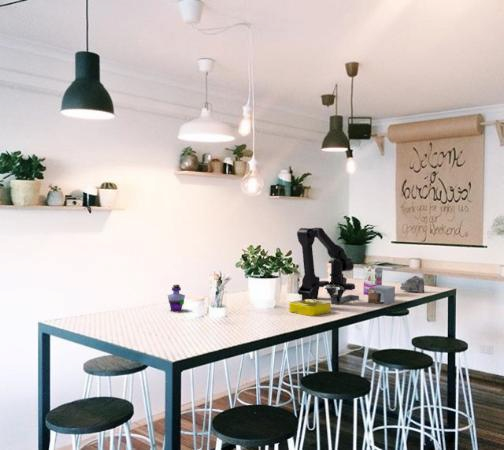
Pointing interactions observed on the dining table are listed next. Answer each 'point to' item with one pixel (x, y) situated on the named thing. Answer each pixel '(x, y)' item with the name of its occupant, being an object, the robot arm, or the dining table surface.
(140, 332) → the dining table surface
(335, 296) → the hook tool
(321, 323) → the dining table surface
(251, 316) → the dining table surface
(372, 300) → the cube
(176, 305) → the potion bottle
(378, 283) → the candy bar box
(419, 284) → the mineral rock
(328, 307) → the element tile
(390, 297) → the cubby
